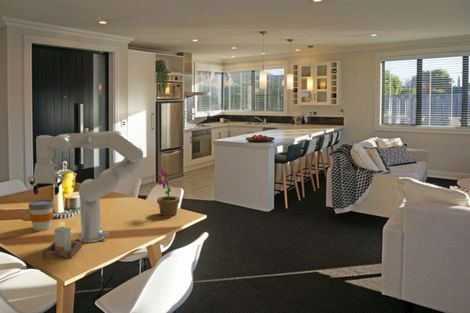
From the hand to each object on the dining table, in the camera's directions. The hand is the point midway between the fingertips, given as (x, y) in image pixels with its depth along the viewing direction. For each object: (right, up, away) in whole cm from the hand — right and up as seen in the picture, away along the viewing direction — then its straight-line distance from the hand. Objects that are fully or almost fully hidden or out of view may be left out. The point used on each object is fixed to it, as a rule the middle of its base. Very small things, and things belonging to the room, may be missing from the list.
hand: (46, 194), depth 194 cm
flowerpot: (+52, -19, +55) cm, 78 cm away
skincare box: (+12, -27, -9) cm, 31 cm away
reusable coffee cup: (-15, -22, +25) cm, 36 cm away
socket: (+12, -27, -9) cm, 31 cm away
